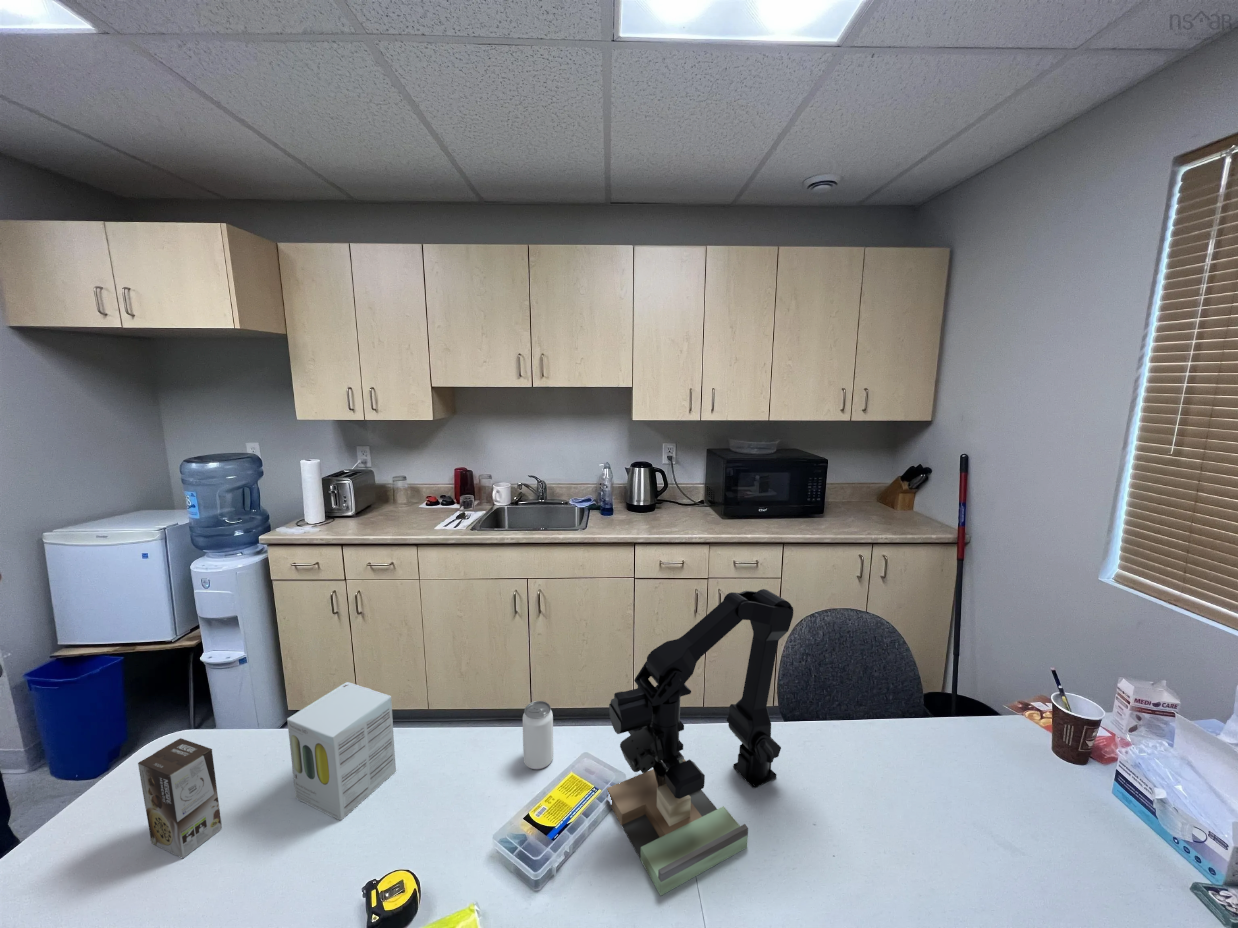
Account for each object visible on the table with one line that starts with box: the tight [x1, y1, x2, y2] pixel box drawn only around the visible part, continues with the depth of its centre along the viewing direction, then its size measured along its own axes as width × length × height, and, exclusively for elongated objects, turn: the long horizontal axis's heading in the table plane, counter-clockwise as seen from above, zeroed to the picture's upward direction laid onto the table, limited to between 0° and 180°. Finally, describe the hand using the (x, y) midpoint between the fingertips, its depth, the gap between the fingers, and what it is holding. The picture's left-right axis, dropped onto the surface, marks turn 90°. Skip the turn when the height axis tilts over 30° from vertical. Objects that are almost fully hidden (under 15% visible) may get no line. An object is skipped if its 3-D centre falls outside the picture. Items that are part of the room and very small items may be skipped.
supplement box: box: [286, 681, 397, 821], centre depth 93 cm, size 13×13×18 cm
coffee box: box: [137, 737, 223, 859], centre depth 82 cm, size 9×6×16 cm
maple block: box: [657, 784, 691, 826], centre depth 86 cm, size 4×4×4 cm
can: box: [522, 700, 554, 770], centre depth 101 cm, size 6×6×12 cm
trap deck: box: [606, 758, 749, 896], centre depth 86 cm, size 20×18×4 cm
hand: (662, 789), depth 89 cm, fingers closed
